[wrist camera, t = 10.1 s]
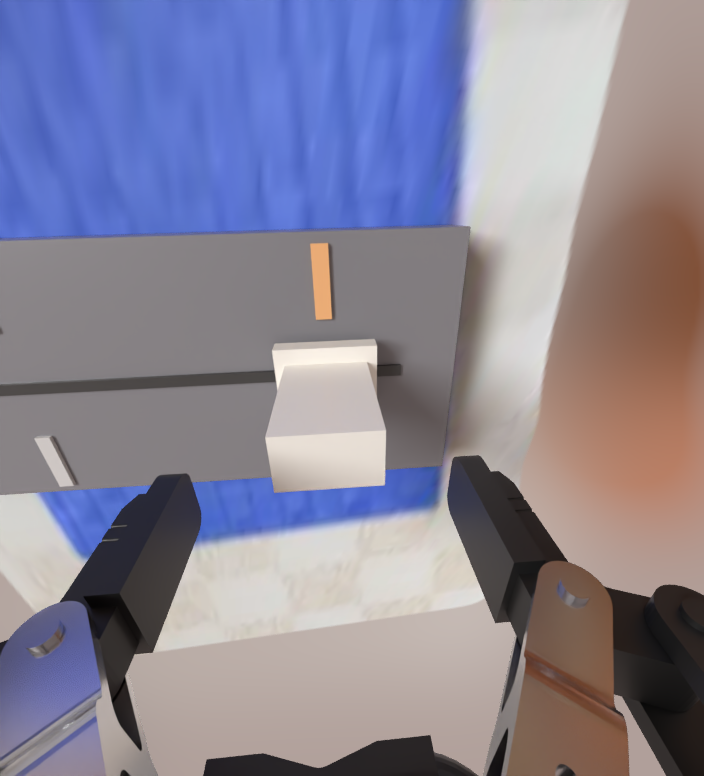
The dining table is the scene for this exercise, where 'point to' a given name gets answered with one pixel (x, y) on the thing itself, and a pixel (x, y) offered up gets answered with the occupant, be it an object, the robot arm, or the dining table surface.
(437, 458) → the fader console
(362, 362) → the fader tab
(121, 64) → the dining table surface
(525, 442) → the dining table surface
